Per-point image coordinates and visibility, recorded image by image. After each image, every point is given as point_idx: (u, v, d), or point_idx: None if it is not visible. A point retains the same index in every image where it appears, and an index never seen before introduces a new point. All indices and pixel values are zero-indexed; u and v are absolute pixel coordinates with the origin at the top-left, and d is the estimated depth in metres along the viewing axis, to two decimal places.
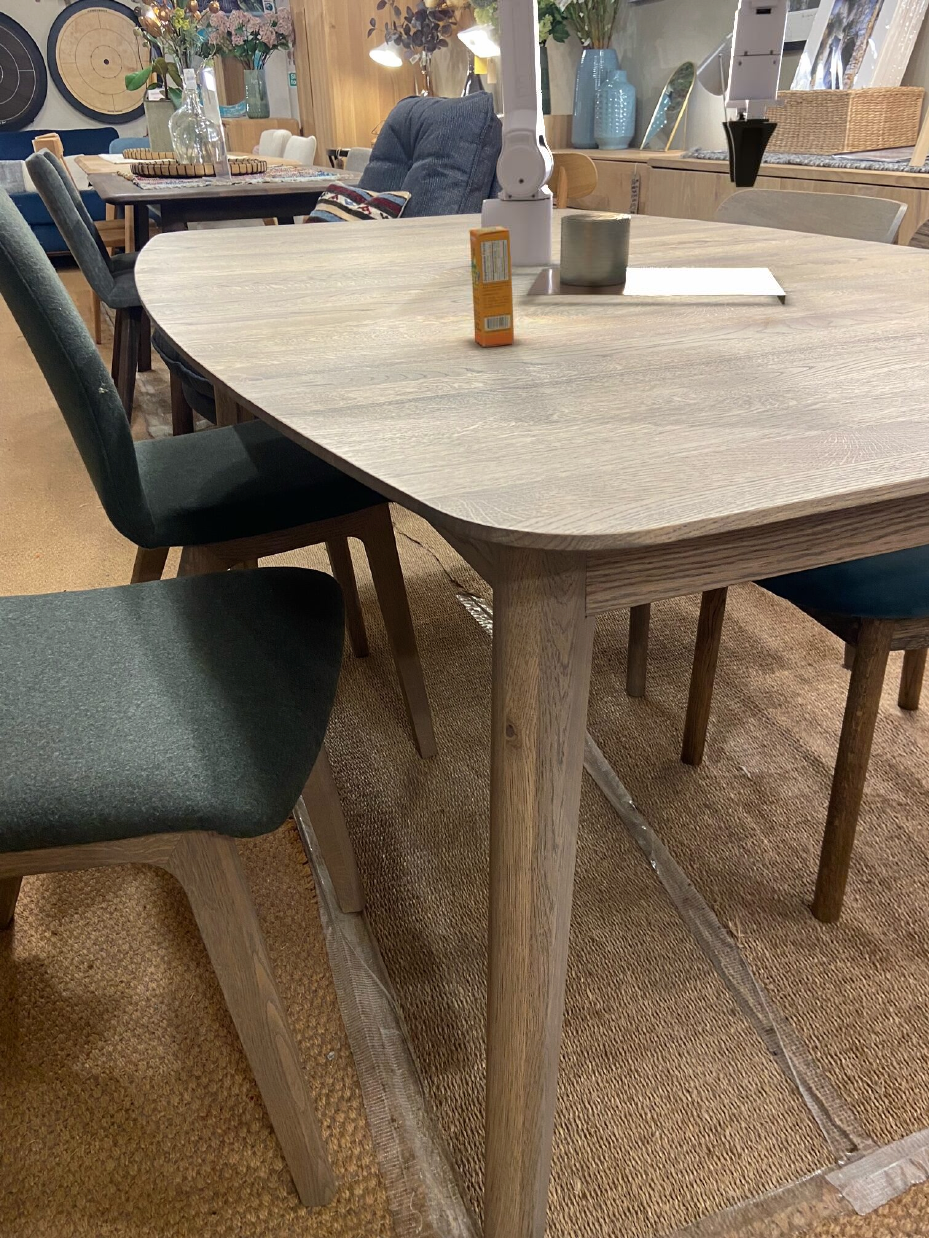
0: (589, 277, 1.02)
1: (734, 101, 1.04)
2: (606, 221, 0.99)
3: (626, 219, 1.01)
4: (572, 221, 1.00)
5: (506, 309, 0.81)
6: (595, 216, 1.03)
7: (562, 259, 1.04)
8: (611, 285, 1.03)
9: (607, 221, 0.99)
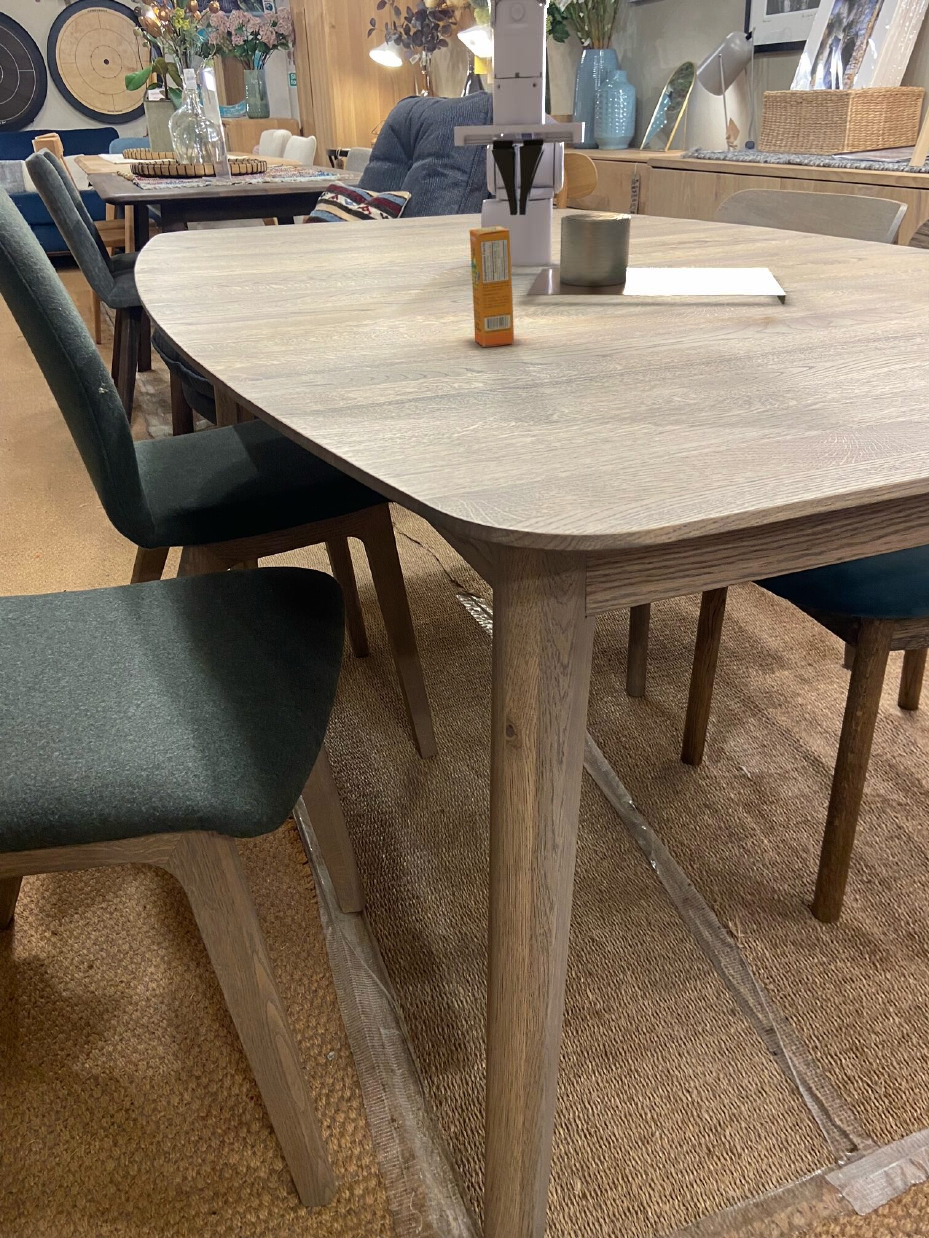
0: (589, 277, 1.02)
1: None
2: (606, 221, 0.99)
3: (626, 219, 1.01)
4: (572, 221, 1.00)
5: (506, 309, 0.81)
6: (595, 216, 1.03)
7: (562, 259, 1.04)
8: (611, 285, 1.03)
9: (607, 221, 0.99)
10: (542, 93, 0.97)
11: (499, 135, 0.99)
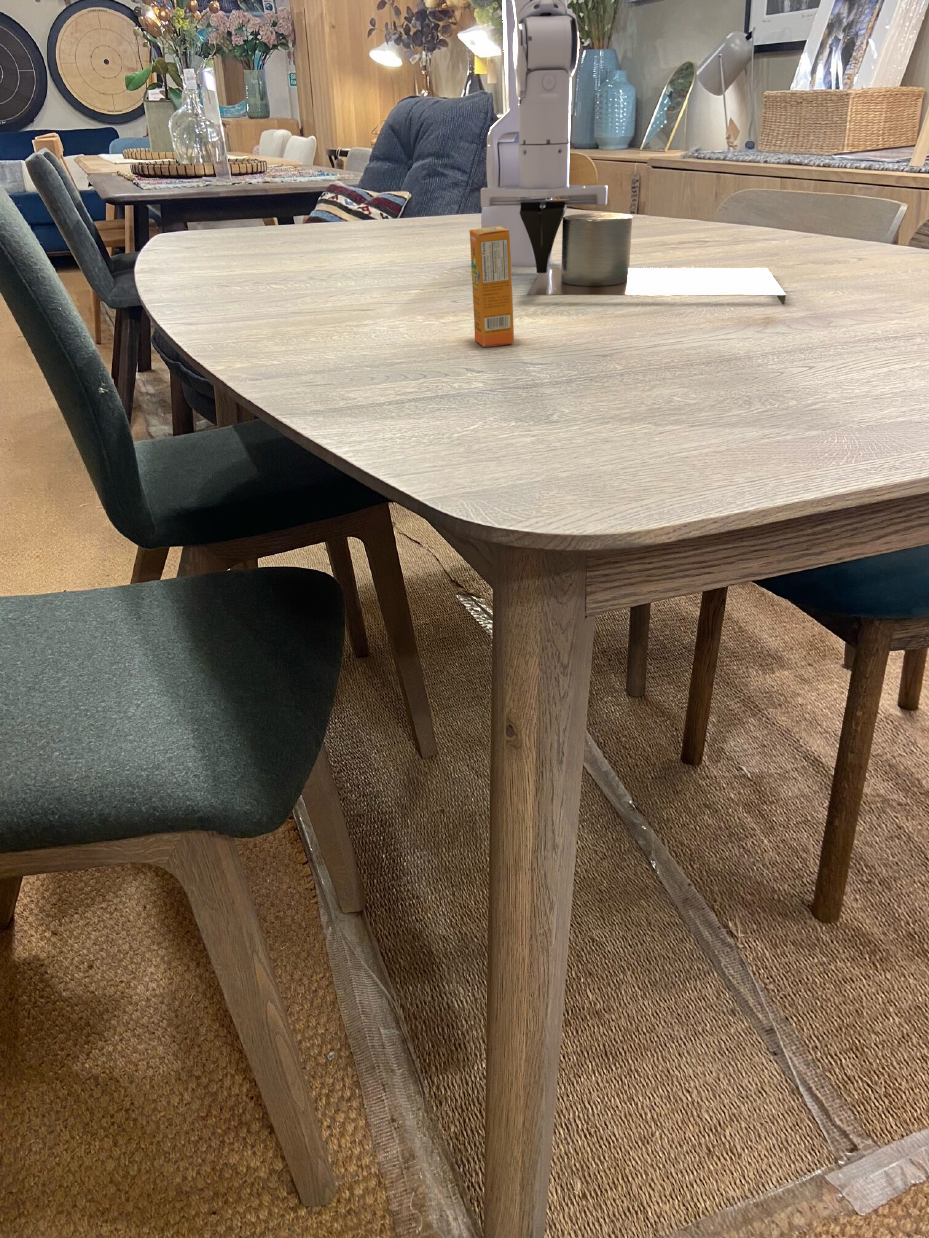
0: (591, 277, 1.02)
1: None
2: (608, 221, 0.99)
3: (628, 219, 1.00)
4: (573, 221, 1.00)
5: (506, 309, 0.81)
6: (596, 216, 1.03)
7: (563, 259, 1.04)
8: (611, 285, 1.03)
9: (609, 221, 0.99)
10: (567, 158, 0.99)
11: (524, 197, 1.02)
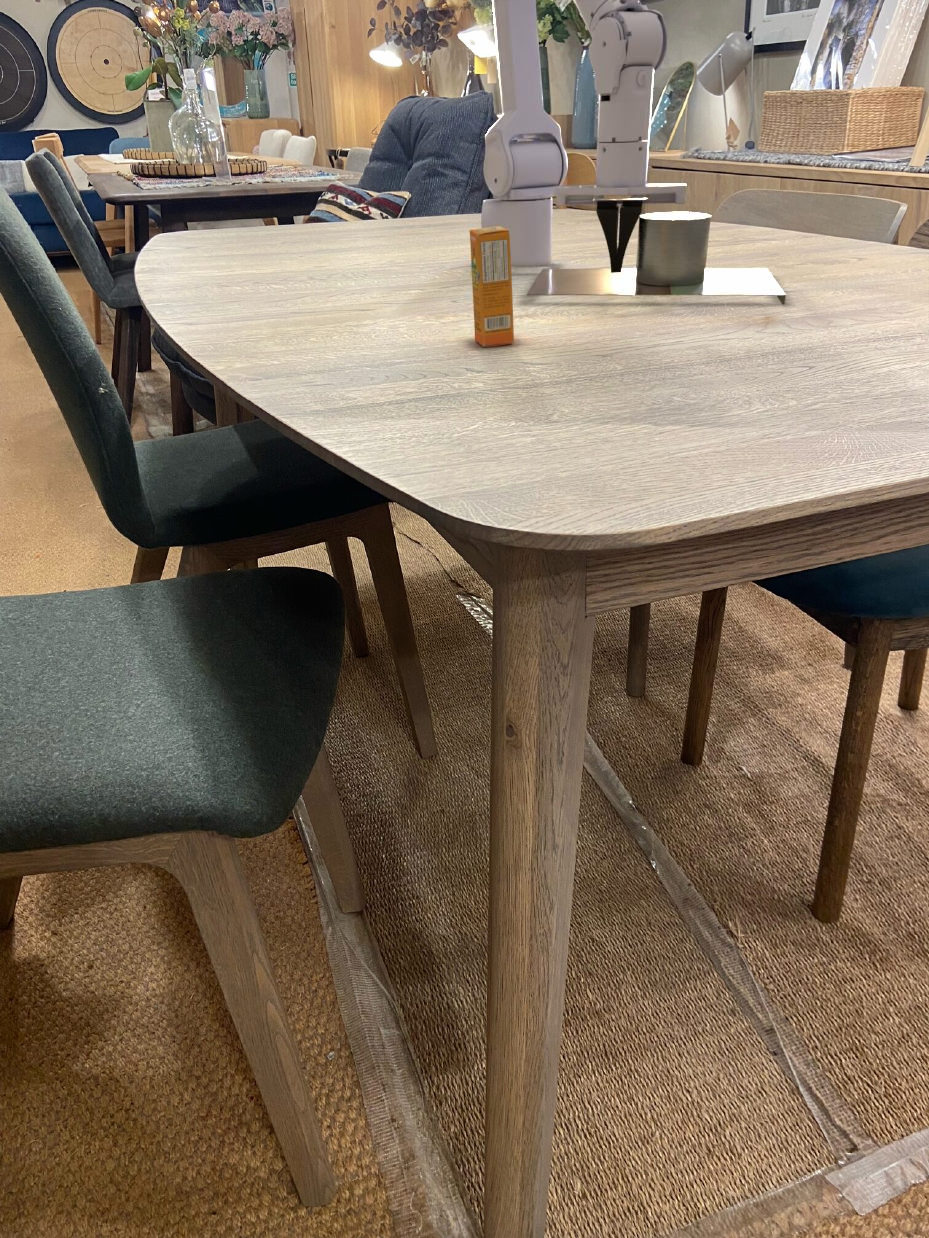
0: (668, 277, 1.01)
1: None
2: (688, 220, 0.98)
3: (707, 218, 0.99)
4: (652, 220, 0.99)
5: (506, 309, 0.81)
6: (674, 215, 1.01)
7: (639, 258, 1.02)
8: (611, 285, 1.03)
9: (689, 220, 0.98)
10: (646, 156, 0.98)
11: (601, 196, 1.00)
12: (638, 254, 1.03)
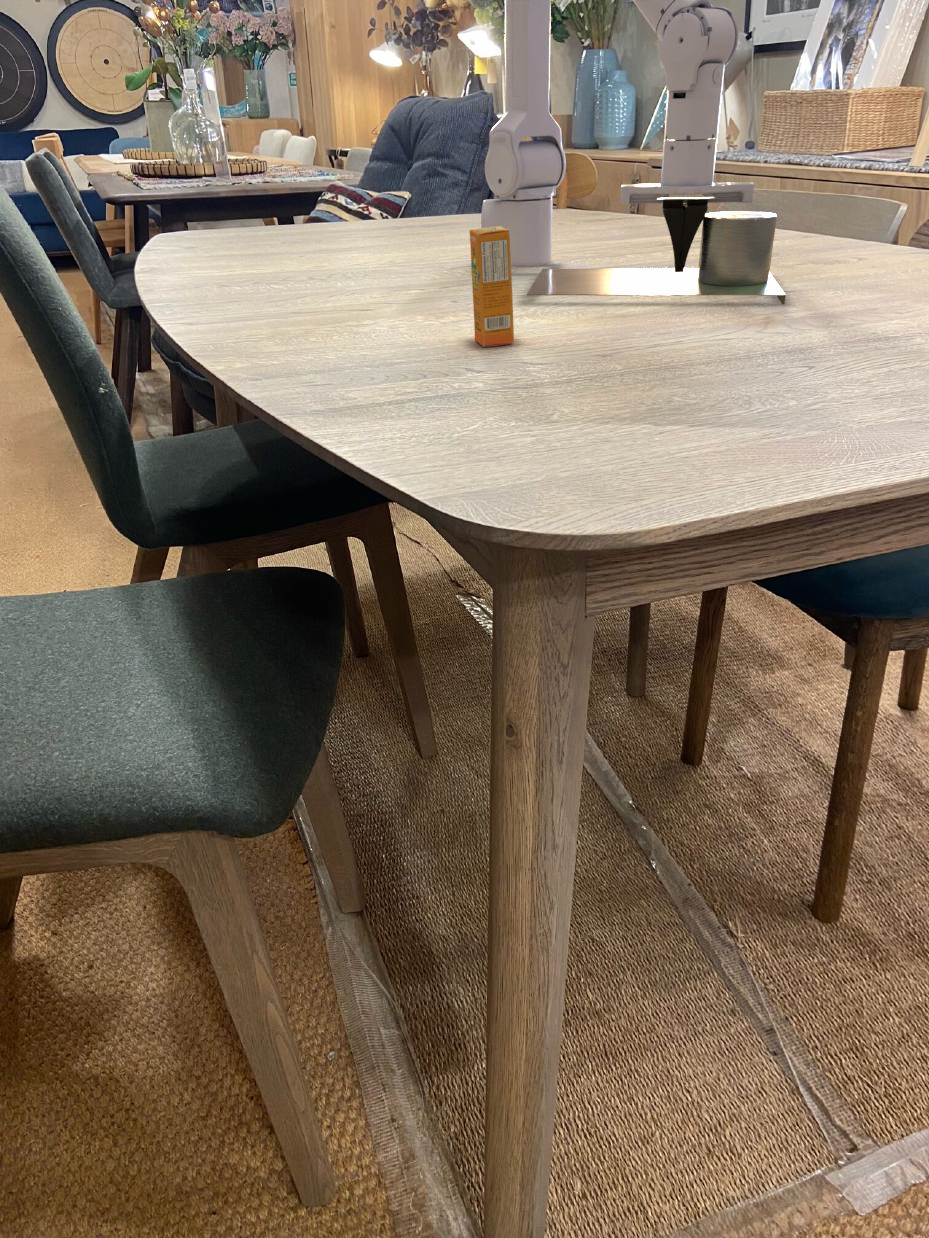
0: (734, 277, 1.00)
1: (660, 184, 1.02)
2: (755, 219, 0.96)
3: (774, 217, 0.98)
4: (719, 219, 0.98)
5: (506, 309, 0.81)
6: (739, 214, 1.00)
7: (703, 258, 1.01)
8: (611, 285, 1.03)
9: (756, 219, 0.97)
10: (714, 154, 0.97)
11: (667, 195, 0.99)
12: (702, 254, 1.01)
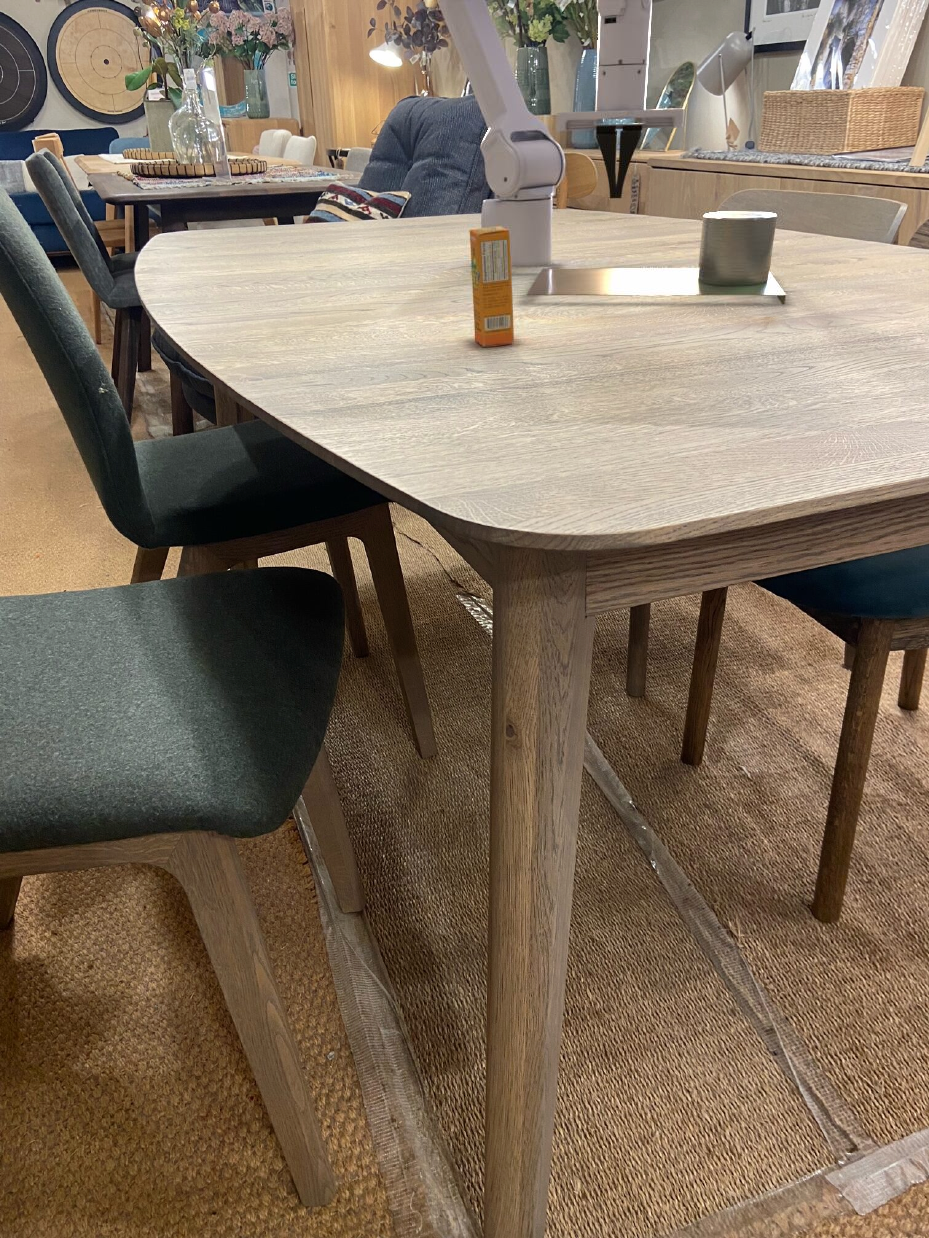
0: (733, 277, 1.00)
1: None
2: (755, 219, 0.96)
3: (774, 217, 0.98)
4: (718, 219, 0.98)
5: (506, 309, 0.81)
6: (739, 214, 1.00)
7: (703, 258, 1.01)
8: (611, 285, 1.03)
9: (756, 219, 0.97)
10: (645, 80, 1.00)
11: (601, 120, 1.03)
12: (702, 254, 1.01)
